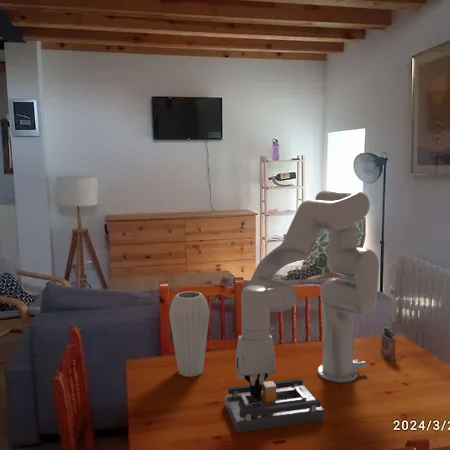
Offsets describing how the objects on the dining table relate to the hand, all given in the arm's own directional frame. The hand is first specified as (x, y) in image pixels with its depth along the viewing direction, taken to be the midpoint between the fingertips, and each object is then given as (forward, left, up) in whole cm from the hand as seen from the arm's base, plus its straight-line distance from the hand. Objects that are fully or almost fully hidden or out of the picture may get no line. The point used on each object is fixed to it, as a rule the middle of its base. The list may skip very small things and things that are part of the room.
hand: (255, 396), depth 127 cm
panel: (-5, 0, -5) cm, 7 cm away
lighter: (-57, -26, -6) cm, 63 cm away
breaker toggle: (-4, 0, -2) cm, 4 cm away
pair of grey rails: (-5, 0, -2) cm, 5 cm away
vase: (+13, -31, -6) cm, 34 cm away
